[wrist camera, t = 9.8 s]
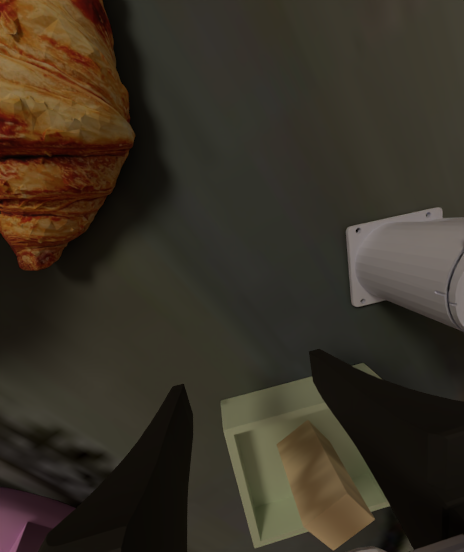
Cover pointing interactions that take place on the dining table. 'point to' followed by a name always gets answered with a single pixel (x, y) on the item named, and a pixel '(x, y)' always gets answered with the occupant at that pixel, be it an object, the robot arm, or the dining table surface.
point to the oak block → (322, 487)
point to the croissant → (57, 123)
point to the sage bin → (266, 459)
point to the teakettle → (27, 519)
